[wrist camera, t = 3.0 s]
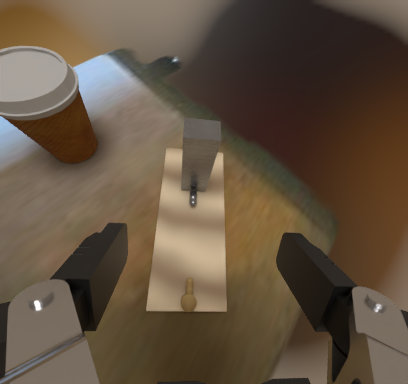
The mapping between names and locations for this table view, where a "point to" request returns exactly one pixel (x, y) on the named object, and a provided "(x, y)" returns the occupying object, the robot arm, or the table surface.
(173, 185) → the rail
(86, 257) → the robot arm
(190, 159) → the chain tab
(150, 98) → the table surface
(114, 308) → the table surface
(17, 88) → the disposable coffee cup
